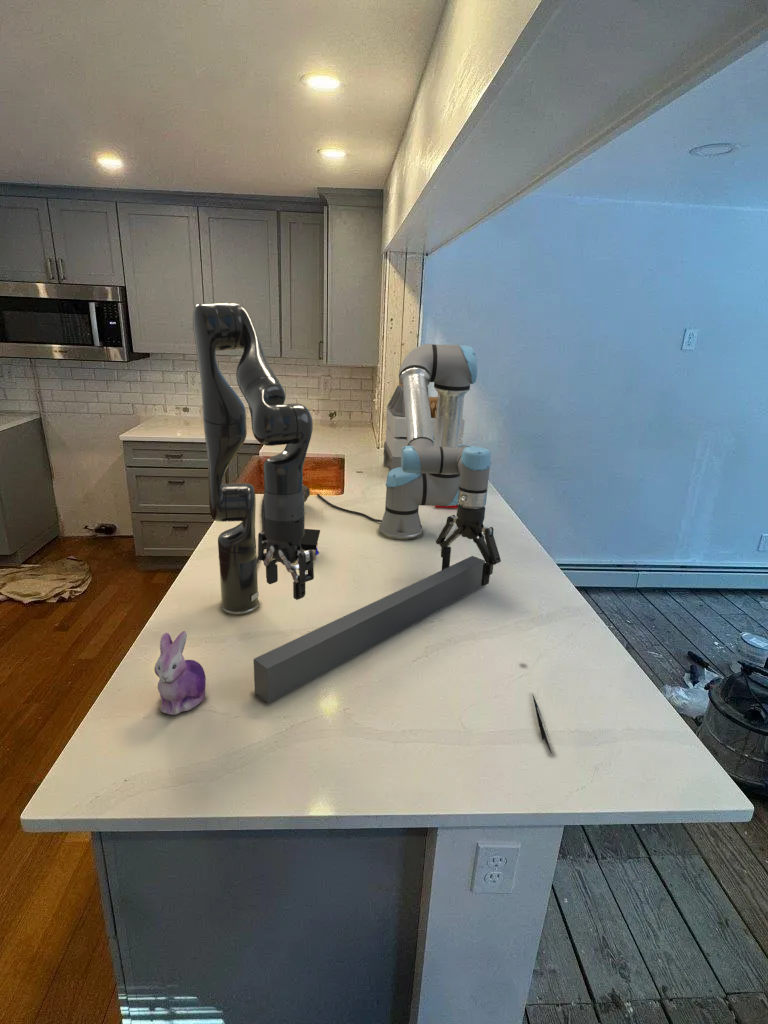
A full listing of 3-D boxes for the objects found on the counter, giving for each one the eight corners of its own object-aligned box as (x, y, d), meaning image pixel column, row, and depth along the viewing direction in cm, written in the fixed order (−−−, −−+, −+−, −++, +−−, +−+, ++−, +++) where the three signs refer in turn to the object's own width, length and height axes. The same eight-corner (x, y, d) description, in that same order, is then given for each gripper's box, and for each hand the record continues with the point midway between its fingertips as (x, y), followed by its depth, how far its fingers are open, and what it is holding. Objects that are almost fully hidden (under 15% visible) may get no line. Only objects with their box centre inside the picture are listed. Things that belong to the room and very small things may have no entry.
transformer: (382, 463, 289) (386, 382, 275) (445, 464, 293) (451, 384, 279) (390, 482, 257) (394, 392, 243) (460, 483, 261) (468, 394, 247)
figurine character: (316, 572, 171) (321, 547, 184) (316, 550, 168) (320, 527, 181) (294, 572, 171) (300, 547, 184) (293, 550, 167) (299, 526, 181)
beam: (469, 581, 167) (472, 555, 165) (482, 586, 164) (485, 560, 162) (254, 693, 115) (253, 658, 112) (268, 703, 112) (266, 668, 110)
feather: (523, 669, 129) (529, 663, 128) (551, 758, 102) (558, 750, 101) (517, 665, 128) (523, 659, 128) (543, 753, 102) (550, 746, 101)
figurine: (161, 723, 106) (153, 655, 100) (154, 691, 114) (147, 626, 109) (213, 709, 110) (208, 643, 105) (202, 680, 118) (198, 616, 113)
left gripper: (244, 506, 107) (248, 583, 113) (291, 527, 98) (292, 610, 104) (277, 498, 112) (278, 572, 118) (324, 518, 103) (324, 597, 109)
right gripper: (426, 496, 158) (422, 566, 165) (503, 520, 142) (495, 595, 149) (443, 491, 163) (438, 559, 170) (519, 513, 147) (510, 587, 154)
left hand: (285, 590), depth 111 cm, fingers open, 8 cm apart
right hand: (464, 576), depth 160 cm, fingers open, 13 cm apart
